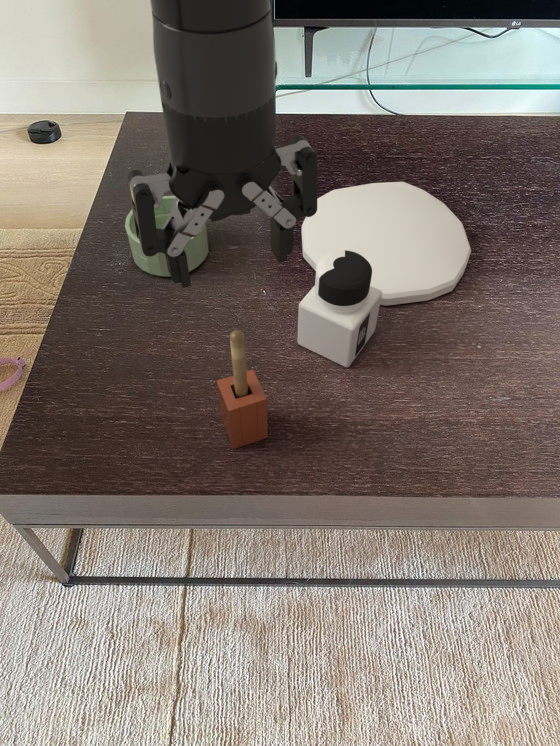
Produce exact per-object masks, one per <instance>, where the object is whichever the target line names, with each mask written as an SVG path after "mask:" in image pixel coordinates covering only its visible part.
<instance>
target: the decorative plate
mask: <svg viewBox="0 0 560 746" xmlns="http://www.w3.org/2000/svg"><path fill="white" fill-rule="evenodd" d="M300 232H301V248H302V258H303V259H304V260H305V261H306V262H307V264H308V265H309V266H311V268H312V269H313V270H314V271H315V272H316V266H317V263H318V261H319V260H320V259H321V258H322V257H323V256H325V255H326V254H328V253H330V252H333V251H339V250H347V251H352V252H355V253H358V254H360V255H361V256H363V257H364V258H365V259H366V260H367V261H368V262H369V263H370V265H371V268H372V277H371V283H370V286H372V287H374V288H377V289H379V290H381V291H382V296H381V301H380V306H381V305H382V306H386V307H387V306H394V305H401V304H409V303H410V304H411V303H418V302H427V301H430V300H433V299H435V298H437V297H440V296H442V295H445V294H448V293H451V292H453V291H454V289H455V288H456V286H457V285H458V283H459V282H460V280H461V278H462V277H463V275H464V273H465V271H466V268H467V265H468V262H469V260H470V257H471V253H472V248H471V245H470V242H469V240H468V235H467V233H466V230H465V227H464V224H463V222H462V221H461V220H460V219H459V218H458V216H456V215H455V214H454V212H453V211H451V209H450V208H449V207H448V206H447V205H446V204H445V203H444V202H443V201H441V200H440V199H438V198H436V197H435V196H434V195H432V194H430V193H429V192H428V191H426V190H424V189H422V188H420V187H417V186H415V185H412V184H410V183H408V182H405V181H389V182H372V183H366V184H360V185H354V186H347V187H342V188H336V189H333V190H330V191H329V192H327V193H325V194H323V195H321V196H319V197H317V212H316V213H315V214H314V215H313V216H311V217H306V216H305V217H304V220H303V222H302V224H301V231H300Z"/></svg>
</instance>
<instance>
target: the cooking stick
mask: <svg viewBox="0 0 560 746" xmlns="http://www.w3.org/2000/svg"><path fill="white" fill-rule="evenodd" d="M245 340H246V339H245V334H244V333H243V331H241V330H239V329H234V330H232V331H231V332H230V334H229V343H230V353H231V364H232V374H233V375H232V376H234V386H235V396H236V399H238V398H241V397H244V396H247V395H248V385H247V371H248V370H247V358H246V357H247V355H246V341H245Z"/></svg>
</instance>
